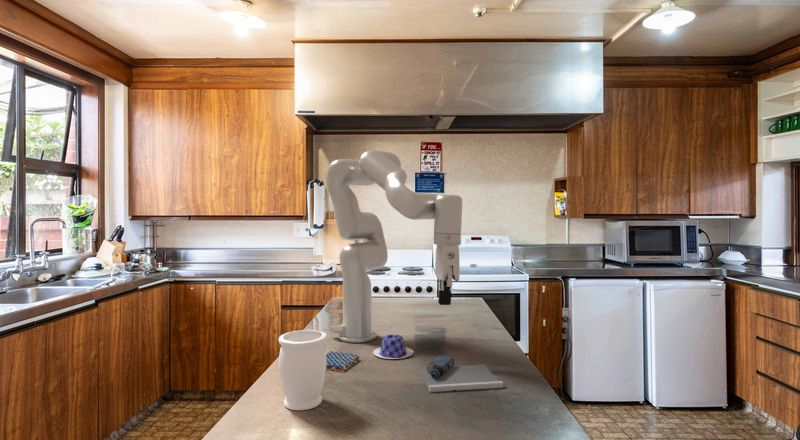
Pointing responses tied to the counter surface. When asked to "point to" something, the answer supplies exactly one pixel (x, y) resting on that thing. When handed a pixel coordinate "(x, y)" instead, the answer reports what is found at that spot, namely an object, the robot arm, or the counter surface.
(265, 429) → the counter surface
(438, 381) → the grey flat slab
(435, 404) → the counter surface
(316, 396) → the jar
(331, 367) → the woven mat
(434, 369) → the vaping device
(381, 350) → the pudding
